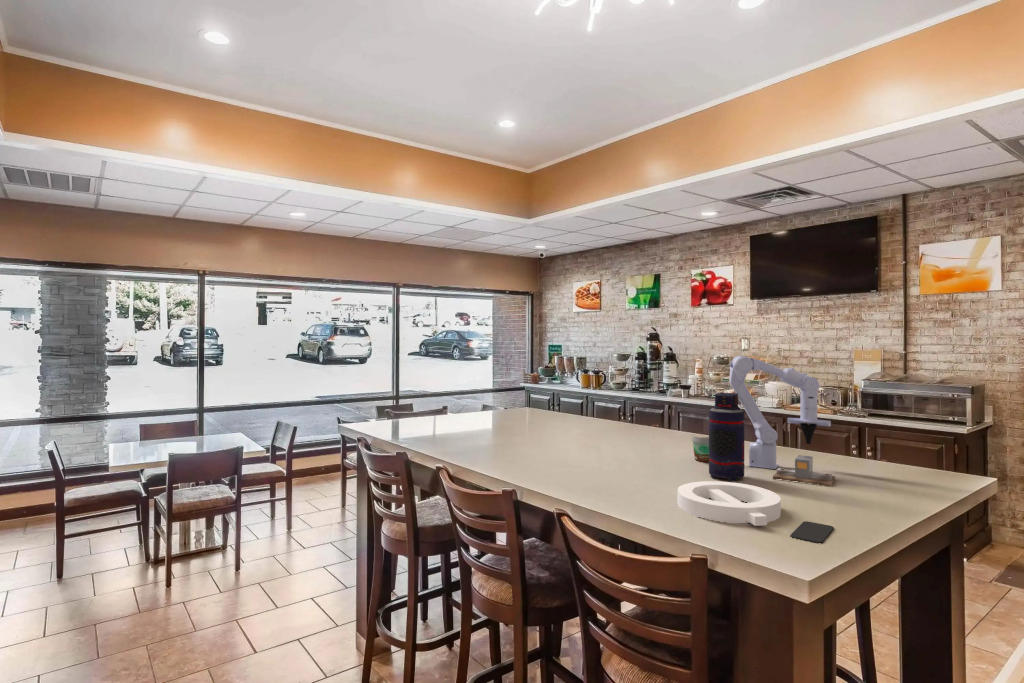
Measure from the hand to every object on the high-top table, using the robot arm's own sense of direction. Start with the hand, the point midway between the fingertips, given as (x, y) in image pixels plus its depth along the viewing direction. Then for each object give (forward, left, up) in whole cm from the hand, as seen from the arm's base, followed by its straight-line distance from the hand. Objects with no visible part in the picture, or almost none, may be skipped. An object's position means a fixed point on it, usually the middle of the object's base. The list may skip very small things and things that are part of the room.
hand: (808, 443), depth 216 cm
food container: (-35, -11, -10) cm, 38 cm away
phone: (+11, -80, -10) cm, 81 cm away
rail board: (+1, -20, -9) cm, 22 cm away
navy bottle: (-22, -32, -10) cm, 40 cm away
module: (+1, -20, -8) cm, 21 cm away
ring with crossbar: (-12, -71, -10) cm, 73 cm away
